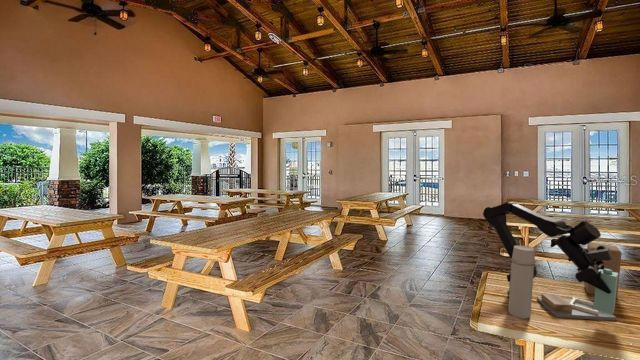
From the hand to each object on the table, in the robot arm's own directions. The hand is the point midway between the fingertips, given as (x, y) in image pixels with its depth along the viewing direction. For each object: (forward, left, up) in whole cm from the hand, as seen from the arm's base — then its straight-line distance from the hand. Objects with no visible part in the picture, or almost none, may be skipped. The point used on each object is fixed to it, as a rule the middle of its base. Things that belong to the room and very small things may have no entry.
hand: (611, 290), depth 116 cm
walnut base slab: (-10, +12, -12) cm, 20 cm away
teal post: (-1, +1, -7) cm, 7 cm away
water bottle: (-26, +6, -13) cm, 30 cm away
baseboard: (-4, +12, -13) cm, 18 cm away
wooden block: (+17, +30, -13) cm, 37 cm away
